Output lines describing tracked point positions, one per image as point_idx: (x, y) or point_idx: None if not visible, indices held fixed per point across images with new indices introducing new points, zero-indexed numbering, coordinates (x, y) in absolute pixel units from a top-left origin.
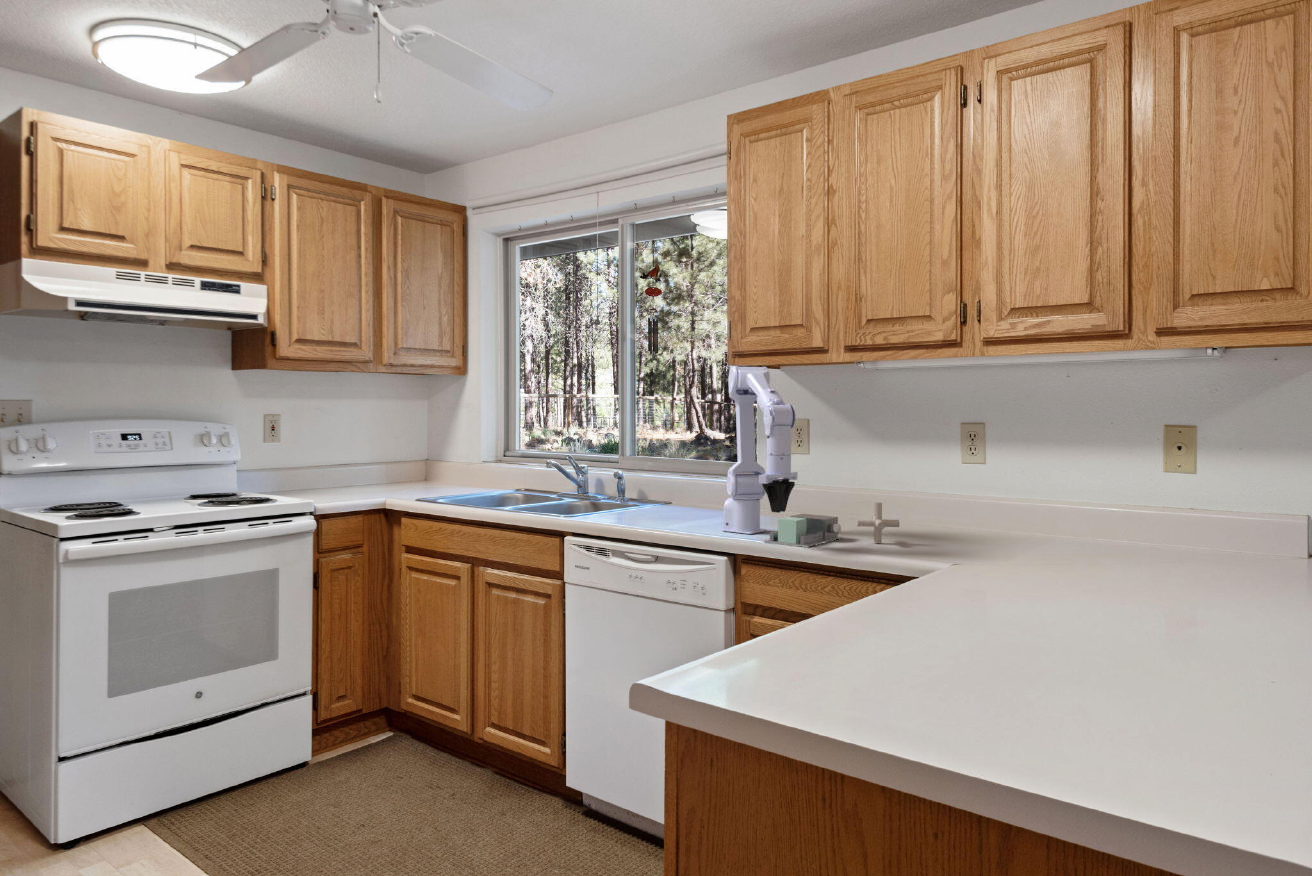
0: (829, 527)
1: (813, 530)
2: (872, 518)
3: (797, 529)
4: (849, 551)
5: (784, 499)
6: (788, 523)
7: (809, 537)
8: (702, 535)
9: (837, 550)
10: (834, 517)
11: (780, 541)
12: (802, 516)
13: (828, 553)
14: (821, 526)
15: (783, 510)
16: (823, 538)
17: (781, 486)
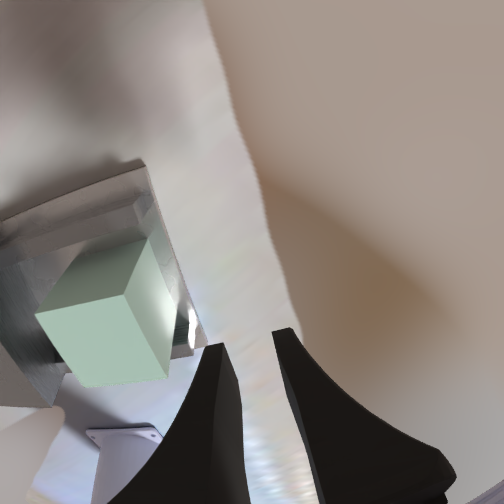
0: None
1: (12, 296)
2: None
3: (121, 270)
4: (74, 14)
5: (221, 414)
6: (146, 321)
7: (89, 215)
8: (265, 455)
9: (91, 51)
10: None
11: (172, 302)
12: (10, 380)
13: (181, 15)
14: None
15: (223, 351)
16: (6, 242)
17: (440, 460)
